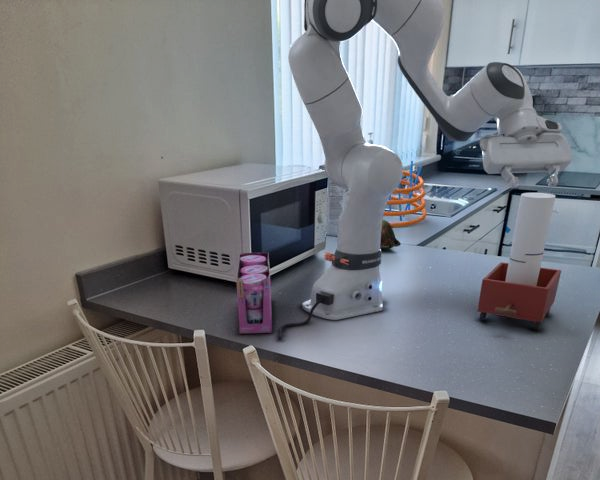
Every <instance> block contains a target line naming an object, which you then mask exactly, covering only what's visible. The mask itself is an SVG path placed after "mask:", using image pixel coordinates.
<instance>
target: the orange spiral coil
mask: <svg viewBox="0 0 600 480" xmlns="http://www.w3.org/2000/svg"><path fill="white" fill-rule="evenodd" d="M413 167H414V160H410V170H409V171H407V170H403V176H406V177H409V181H408V180H405V179H402V180H401V182H400V184H399V186H398V187H397V189H396V190H395V191H394V192H393V193H392V194H391V195H390V197H389V200H388V202H387V205H386V206H388V209H389V211H386V210H385V211H384V215H383V217H399V221H400V222H389V223H390V225H391V227H392V228H400V227H407V226H412V225H415V224H419V223H420V222H422V221H424V220H425V219H426V218H427V214H428V213H427V209H426V204H427V202H426V199H425V198H424V197H425V195H426V191H425V189H424V188H423V187H424V184H425V181H424V179H423V178H422V176H420V175H421V171H422V168H423V166H419V169H418V171H417V174H416V173H413ZM413 179H415V180H414V182H413ZM418 182H419V184H417V183H418ZM401 185H404V186H408V187H405V188H401ZM416 191H419V192H420V194H418V193H416ZM393 194H397V195H398V196H392V195H393ZM401 194H403V195H406V196H408V199H407V198H403V197H401V196H402V195H401ZM418 202H420V203H421V204H419V203H418ZM402 205H405V209H404V210H402ZM392 206H398V209H399V211H392ZM411 206H412V207H415V208H412V209H411ZM418 212H421V213H422V215H421V216H419V217H418V218H416V219H413V220H408V221H403V218H405V217H406V216H409V215H413V214H416V213H418Z"/></svg>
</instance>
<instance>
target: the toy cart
mask: <svg viewBox="0 0 600 480" xmlns="http://www.w3.org/2000/svg"><path fill="white" fill-rule="evenodd" d="M508 264H509V262H499V263H498V264H497V265H496V266H495V267H494V268H492V270H490V272H488V274H486V276H484V277H483V278H482V279H481V287H480V292H479V298H478V305H477V312H479V321H483V322H484V321H485V320H486V318H487V316H488V314H490V315H496V316H501V317H506V318H512V319H517V320H518V319H520V320H524V321H530V322H534V326H533V330H534V331H537V332H539V331H540V329H541V326H542V322H543V320H544V318H546V317H548V316H549V314H550V312H551V308H552V306H553V304H554V303H555V301H556V296H557V291H558V288H559V284H560V278H561V274H562V269H557V268H555V269H554V268H549V267H547V268H546V267H540V271H539V276H538V281H537V285H536V286H531V285H524V284H517V283H511V282H505V280H506V275H507V269H508Z"/></svg>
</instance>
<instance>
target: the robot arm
mask: <svg viewBox="0 0 600 480" xmlns="http://www.w3.org/2000/svg"><path fill="white" fill-rule="evenodd" d="M303 4H304V5H303V7H304V8H303V9H304V10H303V11H304V12H303V13H304V14H303V15H304V16H303V17H304V18H303V29H304V31H305V32H304V33H303V34H301V35H300V36H299V37H298V38H296V40H295V41H294V42H293V43H292V45H291V47H290V49H289V51H288V63H289V68H290V71H291V75H292V78H293V81H294V84H295V86H296V88H297V91H298V93H299V96H300V98H301V100H302V102H303V104H304V107H305V108H306V110H307V113H308V115H309V117H310V119H311V122H312V123H313V126H314V127H315V130H316V132H317V135H318V137H319V140H320V143H321V146H322V150H323V154H324V164H325V172H326V174H327V176H328V178H329V179H330V180H331V181H332V182H333V183H334V184H336V185H337V186H338V187H340V188H343V189H346V190H348V198H347V202H346V206H345V209H344V211H343V213H342V214H341V215H340V216H339V218H338V236H337V240H336V241H337V244H336V245H337V246H336V249H335V251H334V254H333V253H330V252H326V253H325V254H324V260H325V261H327V262H331V265H330V267H328V269H326V271H325V272H323V273H322V274H321V276H320V277H319V278H318V279H317V280H316V281H315V282H314V283H313V284H312V288H311V293H310V299H308V300H305V301H303V302H302V305H301V307H302V309H303V310H304V311H305V312H307V313H309V314H308V317H307V319H306V320H304V321H303V322H298V323H296V322H292V323H290V322H289V323H285V324H283V325H281V326H280V327H279V329H278V340H282V338H283V330H284V329H285V328H288V327H300V326H304V325H307V324H308V323H310V321H311V320H312V317H313V316H315V317H318V318H320V319H321V318H322V319H325V320H331V321H338V320H339V321H340V320H343V319H348V318H352V317H353V318H354V317H358V316H362V315H367V314H372V313H377V312H381V311H383V310H384V305H383V304H384V299H383V296H382V295H383V294H382V285H383V280H381V272H380V265H381V264H382V258H383V257H382V250H383V249H380V242H381V229H382V219H384V216H383V215H384V211H385V212H386V209H387V208H386V207H387V206H388V205H387V202H388V201H389V197H390V195H391V196H392V195H393V194H392V193H393V192H394V191H395V190H396V189H397V188H398V186H399V184H400V182H401V180H403V176H404V175H403V171H404V165H403V161H402V159H401V158H400V156H399V155H398V154H397V153H395V152H394V151H393V150H391V149H389V148H387V147H386V146H383V145H380V144H379V145H378V144H372V143H369V142H368V141H367V140H366V138H365V136H364V132H363V128H362V117H363V112H364V110H363V107H362V104H361V102H360V99H359V97H358V95H357V92H356V90H355V87H354V84H353V83H352V80H351V77H350V76H349V73H348V70H347V69H346V67H345V64H344V62H343V58H342V54H341V43H343V42H347V41H349V40H351V39H353V38H354V37H356V35H358V34H359V33H360V32H361V31H362V30H363V29H364V28H365V27H367V25H369V24H370V23H371V22H373V23H375V24H376V25H377V26H378V27H379V28H380V29H382V31H384V33H385V34H387V35H388V36H389V37H390V38H391V40H392V41H393V42H394V45H395V46H396V48H397V51H398V55H397V65H398V68H399V70H400V72H401V74H402V75H403V77H404V79H405V81H406V82H407V84H408V85H409V86H410V88H411V89H412V90H413V91H414V93H415V94H416V96H417V97H418V98H419V100H420V101H421V102H422V104H423V105H424V107H426V109H427V110H428V112H429V113H430V114H431V116H432V117H433V119H434V121H435V122H436V124H437V126H438V127H439V130H440V131H441V133H442V134H443V136H444V137H445V138H446V139H447V140H449V141H451V142H456V143H457V142H458V143H459V142H463V143H464V142H467V141H468V140H469V139H471V137H473V135H475V134H476V133H477V132H478V131H479V130H480V128H482V127H483V126H484V125H485V124H486V123H488V122H489V121H490V120H492V118H493V119H494V121H495V122H496V125H497V126H496V131H497V133H496V134H485V135H484V136H483V137H481V138H480V139H479V147H480V150H481V152H482V154H481V157H482V158H481V159H482V166H483V170H484V172H486V173H487V174H488V175H497V174H498V175H499V174H500V176H501V177H502V179H504V180H505V181H506V182H507V183H508V187H509V189H517V188H518V187H519V185H520V178H519V176H515V175H514V174H524V173H525V174H526V173H548V175H550V176H549V178H548V179H546V183H547V186H548V188H549V187H550V188H551V187H557V185H558V183H559V178H558V174H559V172H564V171H565V170H566V169H567V168H568V167H569V165H570V164H572V163H571V162H572V161H573V153H572V149H571V146H570V144H569V141H568V139H567V137H566V136H565V135H564V134H563V133H561V132H562V131H563V126H562V123H560V122H558V121H554V120H551V119H548V118H545V117H543V116H541V115H538V113H537V110H536V109H535V108H534V100H533V95H532V92H531V89H530V87H529V85H528V82H527V80H526V78H525V76H524V74H523V73H522V72H521V70H520V69H519V68H517V67H515V66H513V65H512V64H509V63H507V62H499V61H493V62H488V63H487V64H486V65H485V66H484V67H482V69H480V70H479V71H478V72H477V73H476V74H475V75H474V76H473V77H471V78H470V79H469V81H467V83H465V84H464V85H463V86H462V87H461V88H460V89H459V90H458V91H457V92H456V93H454V94H453V95H447V94H446V93H445V91H444V90H443V89H442V87H441V85H440V84H439V82H438V81H437V80H436V79H435V77H434V76H433V74H432V73H431V71H430V69H429V63H430V61H431V58H432V56H433V54H434V51H435V50H436V47H437V46H438V42H439V41H440V38H441V35H442V32H443V28H444V24H445V7H444V3H443V1H442V0H304V3H303ZM400 185H401V184H400Z"/></svg>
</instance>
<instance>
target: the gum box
mask: <svg viewBox="0 0 600 480" xmlns="http://www.w3.org/2000/svg"><path fill="white" fill-rule="evenodd" d="M269 255H270V253H269V251H268V252H264V251H263V252H262V251H261V252H241V253H239V257H238V267H237V273H236V278H235V279H236V295H237V308H238V309H237V310H238V327H239V329H238V330H239V334H271V333H272V329H273V327H272V291H271V269H270V268H271V267H270V256H269Z"/></svg>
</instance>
